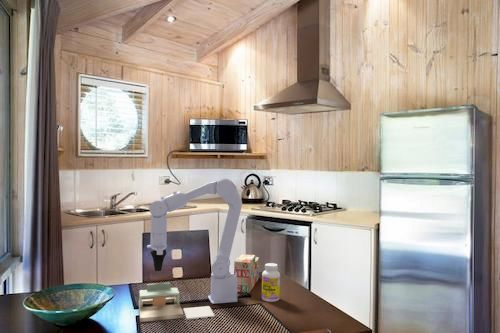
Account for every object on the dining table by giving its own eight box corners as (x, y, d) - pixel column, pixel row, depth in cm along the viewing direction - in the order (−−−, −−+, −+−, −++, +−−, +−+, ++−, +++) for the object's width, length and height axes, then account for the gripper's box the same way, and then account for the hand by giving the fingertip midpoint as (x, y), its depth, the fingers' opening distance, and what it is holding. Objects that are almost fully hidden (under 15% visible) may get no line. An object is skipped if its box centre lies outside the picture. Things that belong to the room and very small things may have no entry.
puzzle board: (177, 300, 142) (177, 296, 142) (183, 317, 126) (183, 314, 126) (138, 303, 138) (138, 300, 138) (140, 322, 122) (140, 318, 122)
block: (164, 304, 138) (164, 292, 138) (165, 308, 134) (165, 296, 134) (152, 305, 137) (152, 293, 137) (153, 309, 133) (153, 297, 133)
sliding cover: (176, 297, 140) (177, 281, 140) (179, 303, 134) (179, 287, 134) (139, 300, 137) (139, 284, 137) (139, 306, 130) (140, 290, 130)
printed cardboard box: (245, 277, 173) (246, 249, 173) (259, 278, 172) (259, 250, 172) (233, 292, 152) (234, 260, 152) (249, 293, 151) (249, 261, 151)
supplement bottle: (258, 300, 143) (259, 265, 143) (265, 295, 149) (265, 261, 149) (276, 303, 140) (277, 267, 140) (281, 297, 146) (282, 263, 146)
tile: (209, 307, 135) (209, 305, 135) (214, 317, 127) (214, 315, 127) (183, 309, 132) (183, 308, 132) (186, 319, 124) (186, 318, 124)
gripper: (146, 230, 148) (145, 266, 148) (148, 237, 134) (147, 276, 134) (165, 229, 150) (164, 265, 150) (169, 236, 137) (168, 275, 137)
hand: (157, 270), depth 143 cm, fingers closed
